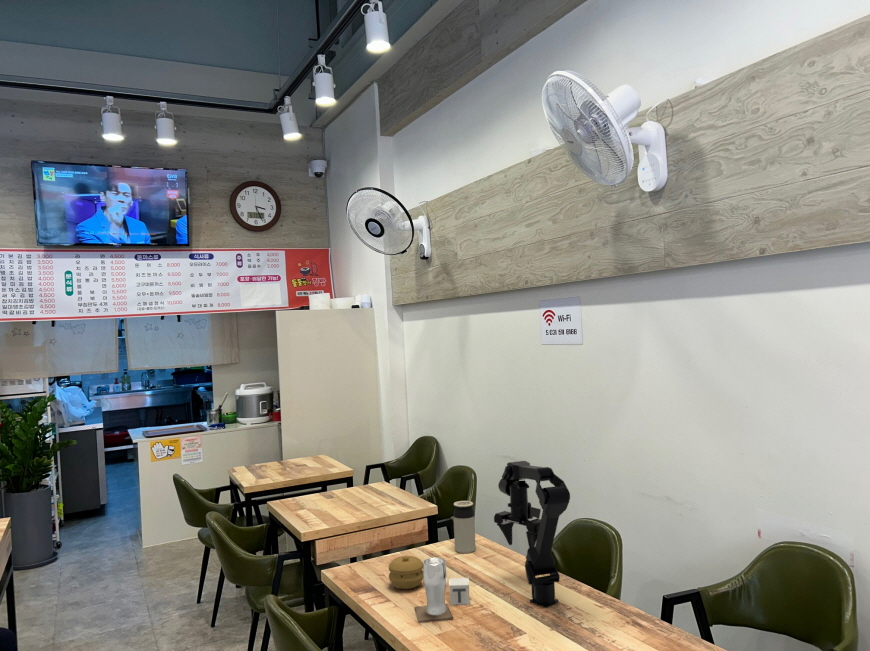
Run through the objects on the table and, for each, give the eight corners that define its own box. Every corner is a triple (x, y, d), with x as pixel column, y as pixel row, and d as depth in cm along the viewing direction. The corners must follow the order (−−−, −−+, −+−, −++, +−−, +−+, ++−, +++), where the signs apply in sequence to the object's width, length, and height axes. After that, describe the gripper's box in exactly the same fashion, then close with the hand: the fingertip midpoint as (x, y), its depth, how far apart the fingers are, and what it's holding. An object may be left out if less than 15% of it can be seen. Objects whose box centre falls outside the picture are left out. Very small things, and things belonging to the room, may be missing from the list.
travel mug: (479, 550, 247) (477, 503, 247) (462, 555, 243) (460, 506, 243) (468, 545, 254) (466, 499, 254) (451, 549, 250) (449, 502, 250)
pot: (384, 592, 210) (383, 561, 210) (395, 578, 222) (394, 549, 222) (419, 594, 207) (418, 562, 208) (428, 580, 219) (427, 550, 219)
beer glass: (447, 617, 188) (445, 565, 188) (423, 617, 188) (421, 565, 189) (448, 607, 195) (446, 557, 195) (425, 607, 195) (423, 557, 196)
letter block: (469, 605, 197) (468, 585, 198) (449, 605, 198) (449, 585, 198) (469, 596, 204) (468, 577, 204) (450, 597, 204) (449, 578, 204)
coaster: (447, 605, 198) (447, 603, 198) (453, 619, 188) (453, 617, 188) (414, 608, 196) (414, 606, 196) (418, 622, 186) (418, 620, 186)
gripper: (557, 499, 210) (559, 548, 210) (514, 491, 225) (516, 536, 224) (534, 506, 203) (536, 556, 203) (491, 497, 217) (493, 544, 217)
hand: (521, 547), depth 212 cm, fingers open, 9 cm apart
